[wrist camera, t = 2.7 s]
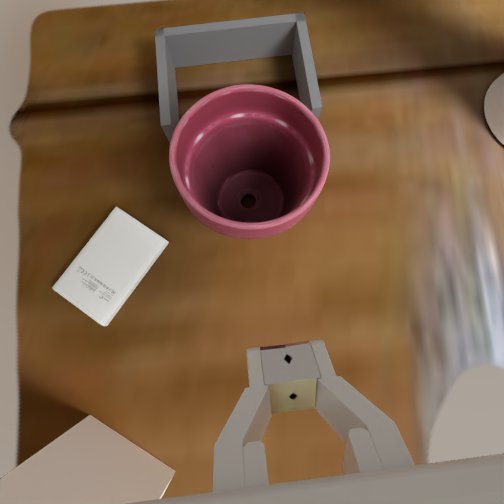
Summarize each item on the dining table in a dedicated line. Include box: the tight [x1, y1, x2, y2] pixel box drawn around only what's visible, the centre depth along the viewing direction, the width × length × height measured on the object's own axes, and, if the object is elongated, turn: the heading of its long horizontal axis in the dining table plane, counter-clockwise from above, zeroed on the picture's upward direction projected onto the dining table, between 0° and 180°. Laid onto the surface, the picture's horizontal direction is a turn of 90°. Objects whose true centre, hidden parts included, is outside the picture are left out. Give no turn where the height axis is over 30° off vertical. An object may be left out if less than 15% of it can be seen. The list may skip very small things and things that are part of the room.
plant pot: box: [169, 85, 330, 239], centre depth 32 cm, size 14×14×13 cm
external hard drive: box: [52, 206, 169, 326], centre depth 37 cm, size 2×8×12 cm
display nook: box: [155, 13, 322, 143], centre depth 39 cm, size 19×14×5 cm
